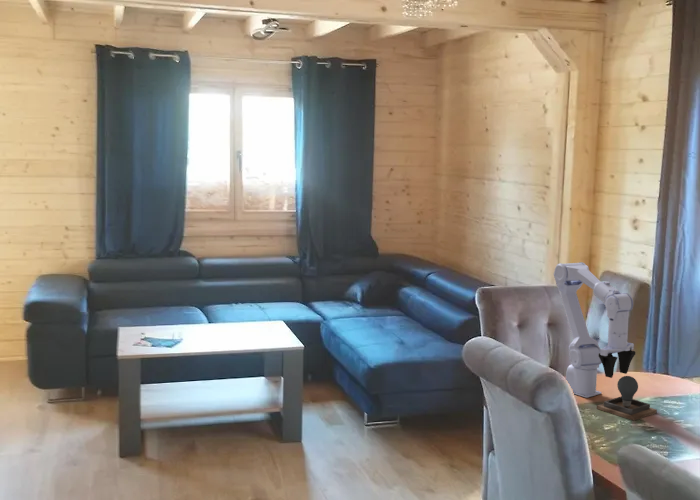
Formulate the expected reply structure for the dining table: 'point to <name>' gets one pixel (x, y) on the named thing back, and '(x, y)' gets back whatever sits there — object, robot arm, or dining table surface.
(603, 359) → the robot arm
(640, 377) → the dining table surface
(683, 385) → the dining table surface
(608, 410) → the socket board
